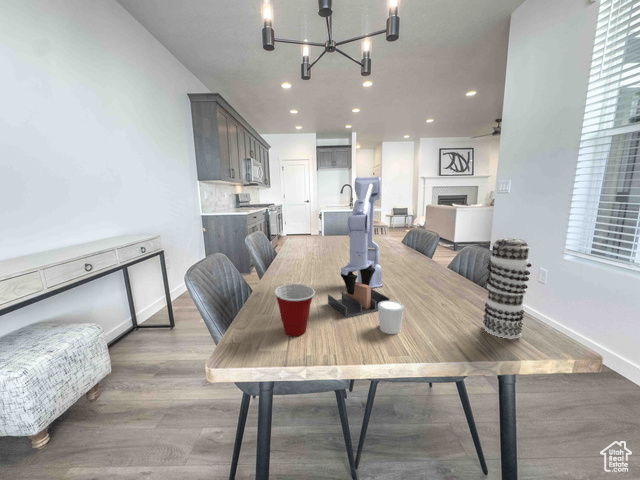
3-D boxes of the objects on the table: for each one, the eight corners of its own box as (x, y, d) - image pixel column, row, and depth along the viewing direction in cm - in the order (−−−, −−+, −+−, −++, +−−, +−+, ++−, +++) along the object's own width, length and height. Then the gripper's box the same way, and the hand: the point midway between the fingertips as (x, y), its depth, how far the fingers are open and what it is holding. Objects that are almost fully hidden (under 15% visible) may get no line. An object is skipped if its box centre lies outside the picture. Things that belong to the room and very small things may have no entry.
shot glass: (403, 325, 73) (404, 301, 72) (402, 337, 67) (403, 311, 66) (378, 321, 76) (379, 298, 74) (375, 333, 69) (376, 308, 68)
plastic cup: (300, 347, 63) (299, 300, 61) (267, 335, 69) (265, 292, 67) (323, 328, 72) (322, 287, 70) (292, 319, 78) (291, 281, 76)
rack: (368, 296, 96) (368, 287, 95) (389, 308, 85) (389, 298, 84) (328, 303, 89) (327, 294, 88) (345, 318, 78) (345, 307, 77)
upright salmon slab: (349, 299, 91) (349, 280, 89) (370, 306, 84) (370, 286, 83) (345, 300, 89) (345, 281, 88) (366, 308, 83) (367, 287, 82)
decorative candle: (496, 320, 75) (504, 235, 71) (531, 336, 67) (543, 240, 63) (473, 326, 72) (480, 238, 68) (507, 343, 63) (518, 243, 60)
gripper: (362, 246, 92) (362, 283, 94) (334, 252, 82) (334, 293, 84) (379, 249, 86) (378, 288, 89) (351, 256, 77) (350, 299, 79)
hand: (358, 291), depth 86 cm, fingers open, 7 cm apart
